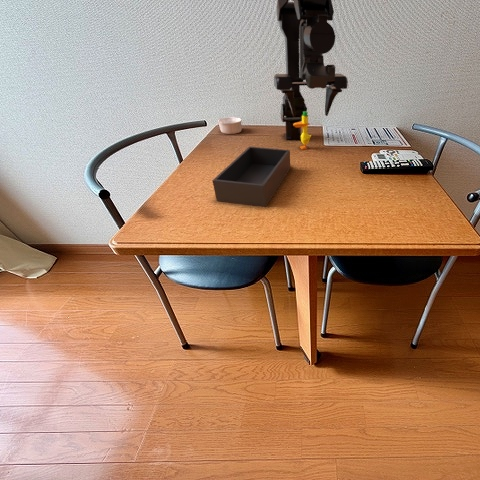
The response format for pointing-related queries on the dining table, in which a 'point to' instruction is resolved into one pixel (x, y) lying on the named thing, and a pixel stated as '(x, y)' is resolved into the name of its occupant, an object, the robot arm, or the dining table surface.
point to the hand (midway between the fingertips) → (310, 116)
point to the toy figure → (304, 125)
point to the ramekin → (230, 125)
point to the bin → (252, 176)
